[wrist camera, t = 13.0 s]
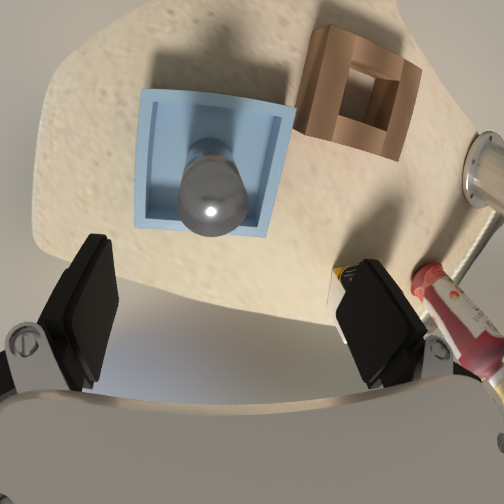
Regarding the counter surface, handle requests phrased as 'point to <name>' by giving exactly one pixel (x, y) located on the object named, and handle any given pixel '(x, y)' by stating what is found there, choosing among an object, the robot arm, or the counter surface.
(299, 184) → the counter surface
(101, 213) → the counter surface
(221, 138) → the tray
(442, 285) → the liquor
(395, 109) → the hole block
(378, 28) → the counter surface
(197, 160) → the peg
